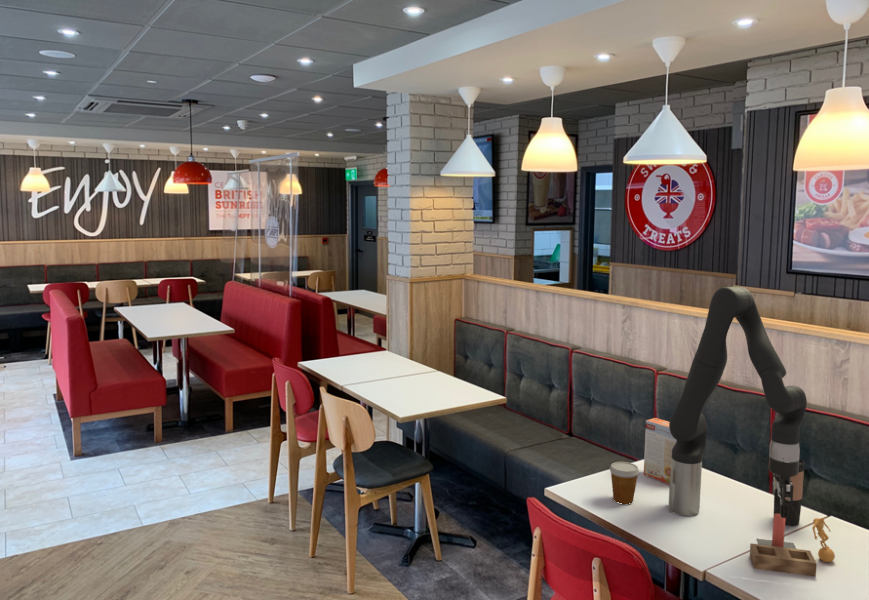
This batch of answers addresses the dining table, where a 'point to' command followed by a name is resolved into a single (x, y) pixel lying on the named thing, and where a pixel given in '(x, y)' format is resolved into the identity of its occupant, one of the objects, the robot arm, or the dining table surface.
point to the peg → (778, 531)
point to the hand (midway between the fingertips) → (781, 511)
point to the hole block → (783, 559)
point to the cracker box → (658, 449)
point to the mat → (769, 543)
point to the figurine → (823, 541)
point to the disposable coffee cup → (623, 481)
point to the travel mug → (794, 498)
